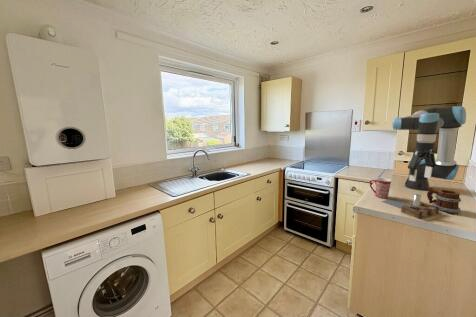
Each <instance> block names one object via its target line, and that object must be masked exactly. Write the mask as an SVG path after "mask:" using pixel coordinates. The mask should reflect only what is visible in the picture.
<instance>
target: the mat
mask: <svg viewBox="0 0 476 317" xmlns="http://www.w3.org/2000/svg"><path fill="white" fill-rule="evenodd" d="M380 202H381V203H384V204H387V205H390V206H391V207H392V206H393V207H395V208H398V209H401V208H402V206H405V205H409V204H411V203H410V202H407V201H404V200H400V199H398V198H394V197H393V198H390V199H384V200H381V201H380Z"/></svg>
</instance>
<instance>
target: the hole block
mask: <svg viewBox="0 0 476 317" xmlns="http://www.w3.org/2000/svg"><path fill="white" fill-rule="evenodd" d="M412 204H413V203H410V204H409V205H405V206H402V208H400V213H402V214H405V215H407V216H410V217H413V218H415V219H418V220H420V219H423V218H427V217H430V216H434V215H437V214H439V212H440V211H439V207H436V206H433V205H432V204H430V203H426V202H423V201H420V205H419V210H415V209H412Z"/></svg>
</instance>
